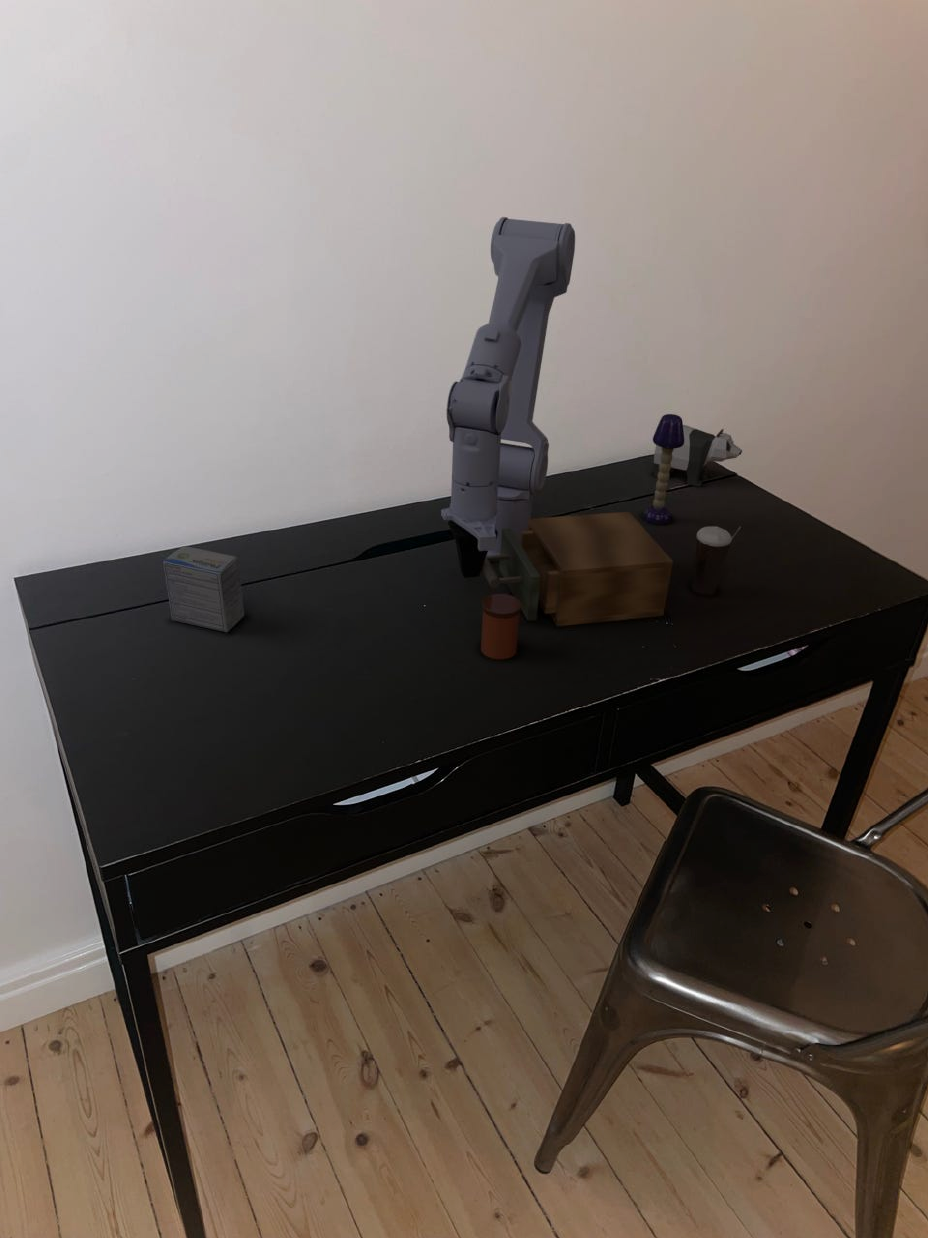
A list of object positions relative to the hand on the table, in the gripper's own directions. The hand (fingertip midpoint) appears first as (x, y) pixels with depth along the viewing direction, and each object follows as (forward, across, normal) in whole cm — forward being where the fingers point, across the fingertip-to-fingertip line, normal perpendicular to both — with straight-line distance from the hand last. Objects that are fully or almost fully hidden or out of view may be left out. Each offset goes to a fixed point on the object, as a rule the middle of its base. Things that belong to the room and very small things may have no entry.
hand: (470, 574), depth 124 cm
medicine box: (+4, -1, -33) cm, 34 cm away
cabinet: (+4, +1, +17) cm, 17 cm away
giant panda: (+4, -33, +47) cm, 57 cm away
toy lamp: (+4, -19, +35) cm, 40 cm away
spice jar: (+4, +12, +1) cm, 13 cm away
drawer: (+3, +1, +10) cm, 11 cm away
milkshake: (+4, +3, +33) cm, 33 cm away
